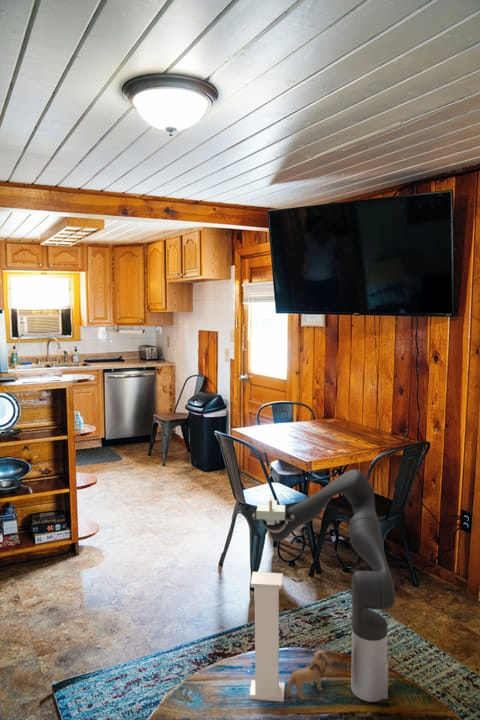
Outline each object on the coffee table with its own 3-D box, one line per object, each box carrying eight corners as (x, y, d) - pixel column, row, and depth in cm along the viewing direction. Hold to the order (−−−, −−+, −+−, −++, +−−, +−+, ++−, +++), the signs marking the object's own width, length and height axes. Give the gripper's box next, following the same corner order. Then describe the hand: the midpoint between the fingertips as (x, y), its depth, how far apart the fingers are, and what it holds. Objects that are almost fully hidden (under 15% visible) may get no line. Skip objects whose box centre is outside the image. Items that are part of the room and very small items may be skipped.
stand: (284, 685, 148) (284, 573, 145) (283, 702, 143) (283, 585, 139) (251, 683, 150) (250, 571, 146) (249, 699, 144) (248, 583, 140)
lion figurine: (317, 673, 153) (318, 643, 152) (332, 683, 149) (332, 653, 148) (280, 698, 144) (279, 666, 143) (294, 710, 140) (294, 677, 139)
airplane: (286, 506, 169) (286, 484, 168) (284, 526, 155) (284, 501, 154) (260, 505, 170) (260, 483, 169) (256, 524, 156) (256, 500, 155)
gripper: (296, 532, 174) (295, 526, 158) (252, 530, 175) (247, 524, 159) (296, 508, 176) (295, 500, 161) (253, 506, 178) (248, 498, 162)
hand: (271, 512), depth 160 cm, fingers closed on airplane
